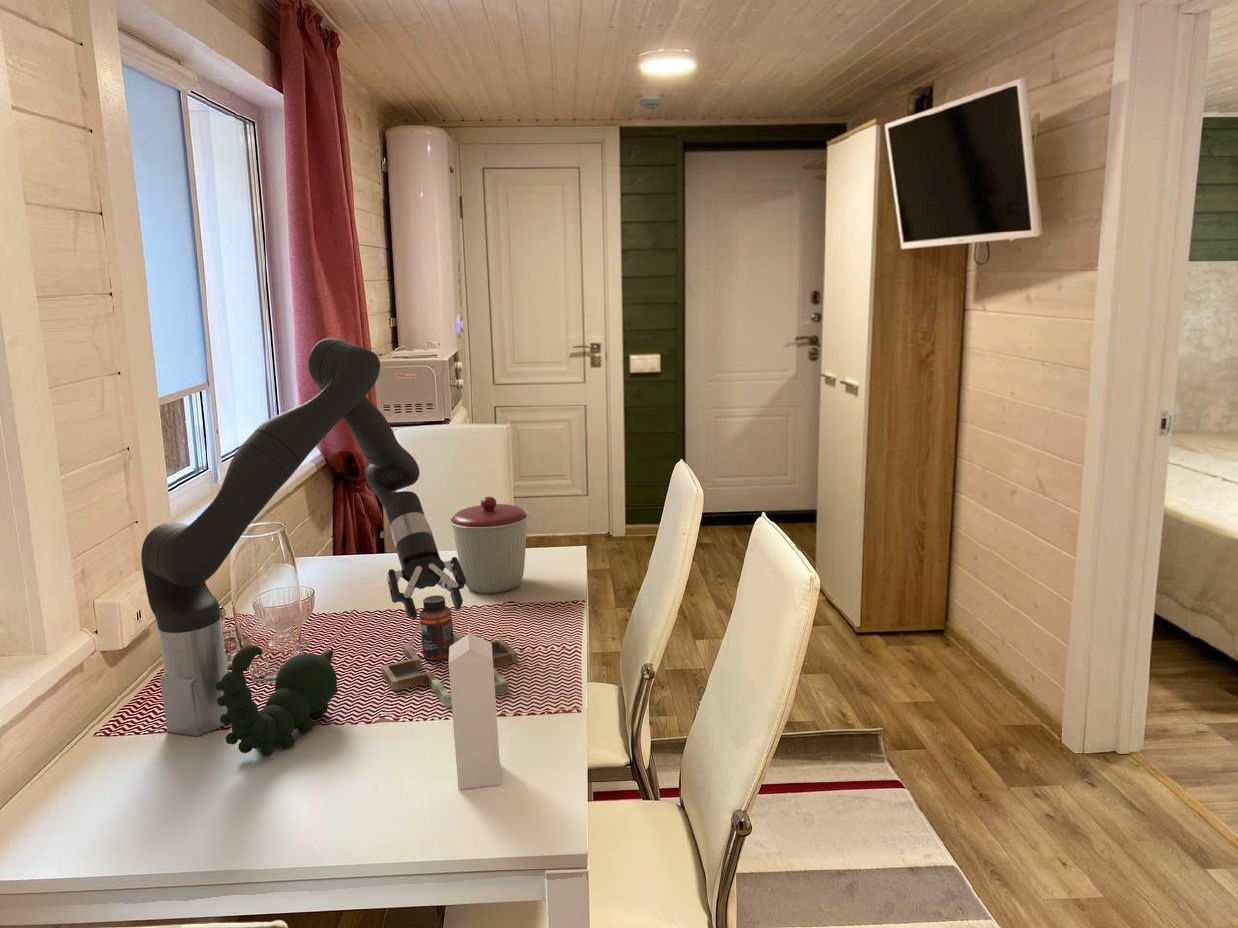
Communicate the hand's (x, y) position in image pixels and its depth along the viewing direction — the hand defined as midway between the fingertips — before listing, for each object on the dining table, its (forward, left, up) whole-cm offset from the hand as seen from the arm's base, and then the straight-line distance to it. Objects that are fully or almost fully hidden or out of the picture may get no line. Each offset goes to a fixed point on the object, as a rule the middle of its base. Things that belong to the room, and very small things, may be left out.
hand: (436, 613), depth 176 cm
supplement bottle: (-2, -1, -8) cm, 8 cm away
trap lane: (-8, -7, -8) cm, 13 cm away
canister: (+37, +6, -8) cm, 38 cm away
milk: (-39, -28, -8) cm, 48 cm away
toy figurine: (-35, +7, -8) cm, 37 cm away
